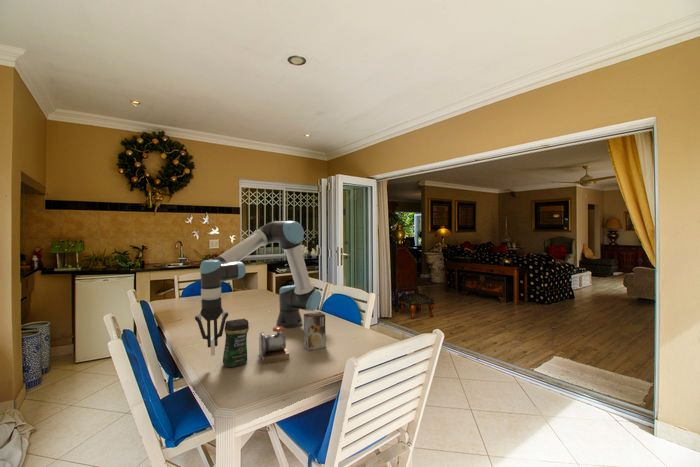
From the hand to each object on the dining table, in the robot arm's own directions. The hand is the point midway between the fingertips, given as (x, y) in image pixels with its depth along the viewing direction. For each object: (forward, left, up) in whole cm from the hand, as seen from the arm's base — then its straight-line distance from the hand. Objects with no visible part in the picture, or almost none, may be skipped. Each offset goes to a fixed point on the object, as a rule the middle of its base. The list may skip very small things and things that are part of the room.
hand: (212, 354), depth 131 cm
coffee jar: (-9, 0, -6) cm, 10 cm away
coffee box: (-46, -4, -6) cm, 46 cm away
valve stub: (-25, 0, -6) cm, 25 cm away
